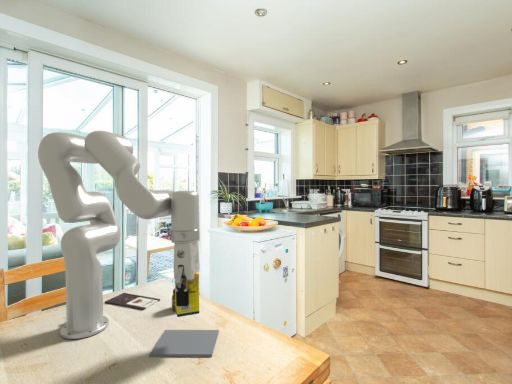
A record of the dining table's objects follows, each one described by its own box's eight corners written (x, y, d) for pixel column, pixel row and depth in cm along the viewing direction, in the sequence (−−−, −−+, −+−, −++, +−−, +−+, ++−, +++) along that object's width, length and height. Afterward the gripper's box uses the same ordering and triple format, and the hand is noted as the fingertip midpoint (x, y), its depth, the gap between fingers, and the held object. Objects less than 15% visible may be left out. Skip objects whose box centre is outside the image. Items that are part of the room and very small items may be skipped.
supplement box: (199, 313, 75) (199, 273, 75) (177, 317, 73) (176, 276, 73) (196, 305, 81) (195, 267, 81) (175, 308, 79) (174, 270, 78)
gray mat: (149, 356, 71) (149, 354, 71) (165, 331, 83) (165, 329, 83) (211, 356, 71) (211, 354, 71) (218, 331, 83) (218, 329, 83)
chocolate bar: (123, 292, 112) (160, 299, 106) (123, 295, 112) (160, 301, 106) (104, 301, 104) (142, 308, 98) (104, 304, 104) (143, 311, 98)
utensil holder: (175, 304, 102) (174, 272, 102) (192, 304, 102) (191, 272, 102) (169, 312, 96) (169, 277, 96) (187, 312, 96) (187, 277, 96)
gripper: (191, 241, 68) (192, 313, 68) (205, 230, 85) (206, 287, 85) (160, 242, 68) (162, 313, 68) (180, 230, 85) (182, 287, 86)
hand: (186, 298), depth 77 cm, fingers closed on supplement box, 7 cm apart
